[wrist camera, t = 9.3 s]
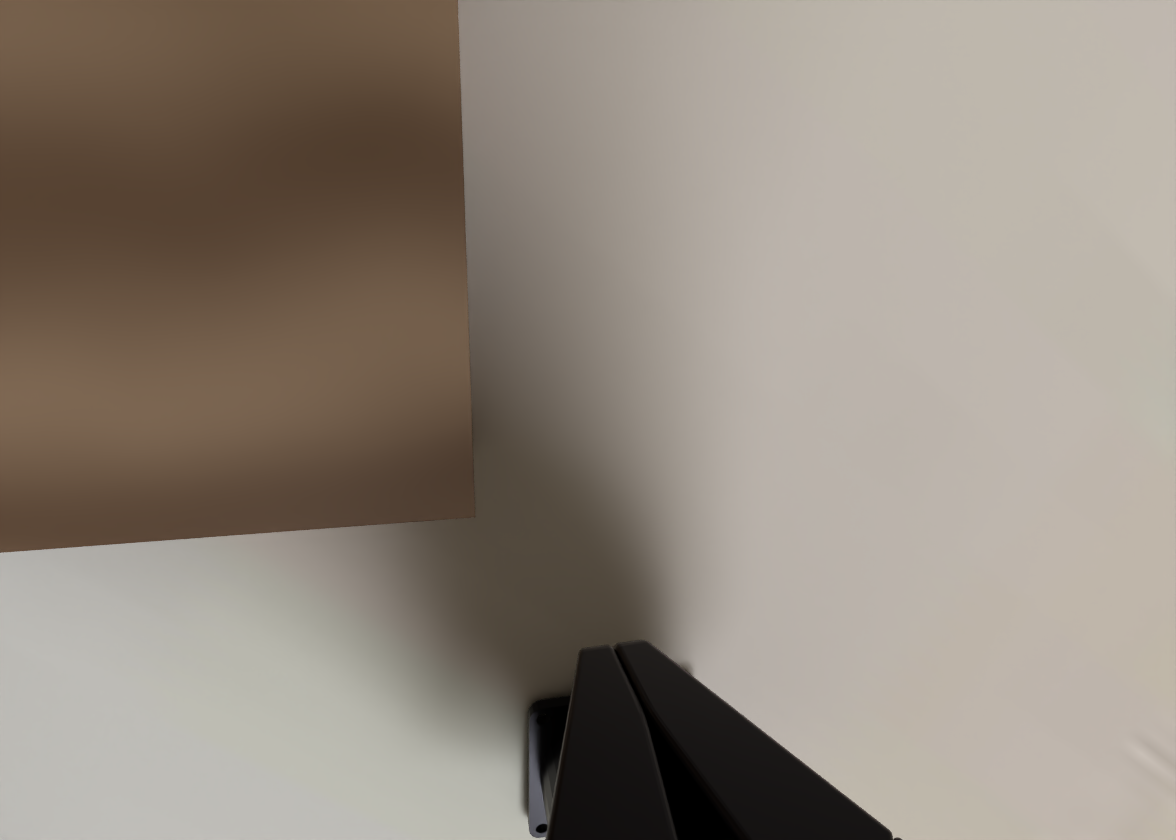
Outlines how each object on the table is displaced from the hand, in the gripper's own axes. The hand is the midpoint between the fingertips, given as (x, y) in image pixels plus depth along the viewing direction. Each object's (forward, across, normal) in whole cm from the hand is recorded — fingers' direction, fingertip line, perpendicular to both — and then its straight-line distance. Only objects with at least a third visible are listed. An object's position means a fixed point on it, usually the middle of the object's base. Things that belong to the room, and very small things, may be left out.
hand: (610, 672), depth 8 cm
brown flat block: (+12, +7, -6) cm, 15 cm away
